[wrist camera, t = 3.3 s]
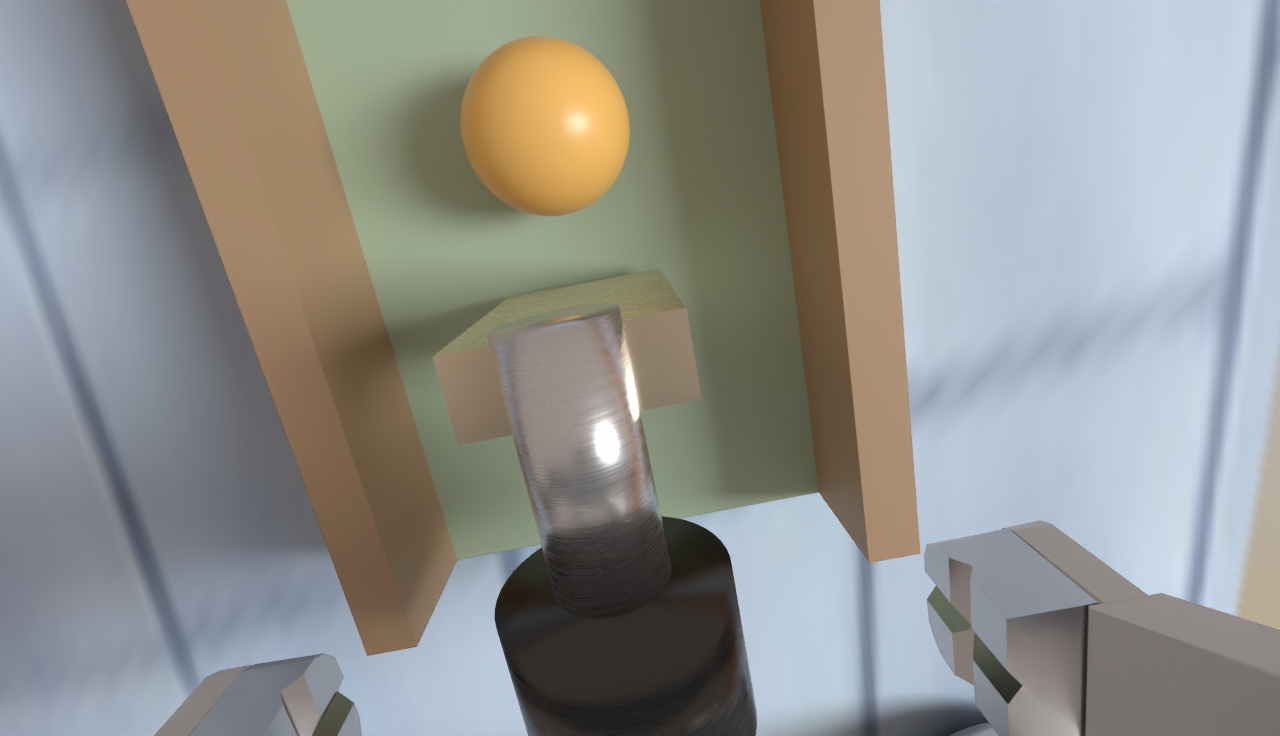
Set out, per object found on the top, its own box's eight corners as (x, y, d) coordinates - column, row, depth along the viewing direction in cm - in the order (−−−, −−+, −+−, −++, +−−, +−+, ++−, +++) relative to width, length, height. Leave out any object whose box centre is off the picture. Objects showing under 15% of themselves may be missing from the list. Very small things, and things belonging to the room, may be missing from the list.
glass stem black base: (703, 515, 14) (783, 807, 7) (568, 540, 14) (520, 855, 7) (657, 258, 12) (703, 316, 6) (506, 288, 12) (367, 381, 6)
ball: (640, 201, 13) (646, 198, 10) (501, 227, 13) (466, 233, 10) (612, 46, 12) (610, -8, 9) (464, 75, 12) (415, 32, 9)
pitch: (844, 467, 15) (920, 552, 12) (430, 545, 16) (367, 656, 12) (762, -296, 11) (838, -561, 7) (200, -179, 11) (-14, -378, 8)
